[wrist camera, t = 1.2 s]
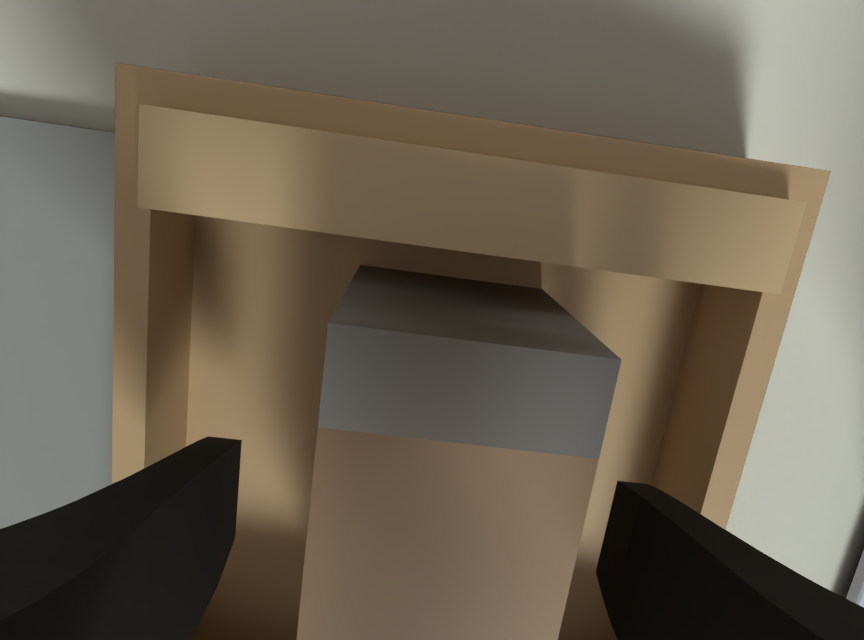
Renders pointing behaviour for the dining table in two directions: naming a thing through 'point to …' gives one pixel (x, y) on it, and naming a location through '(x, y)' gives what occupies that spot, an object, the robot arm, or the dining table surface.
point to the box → (451, 461)
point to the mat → (55, 315)
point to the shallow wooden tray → (439, 255)
